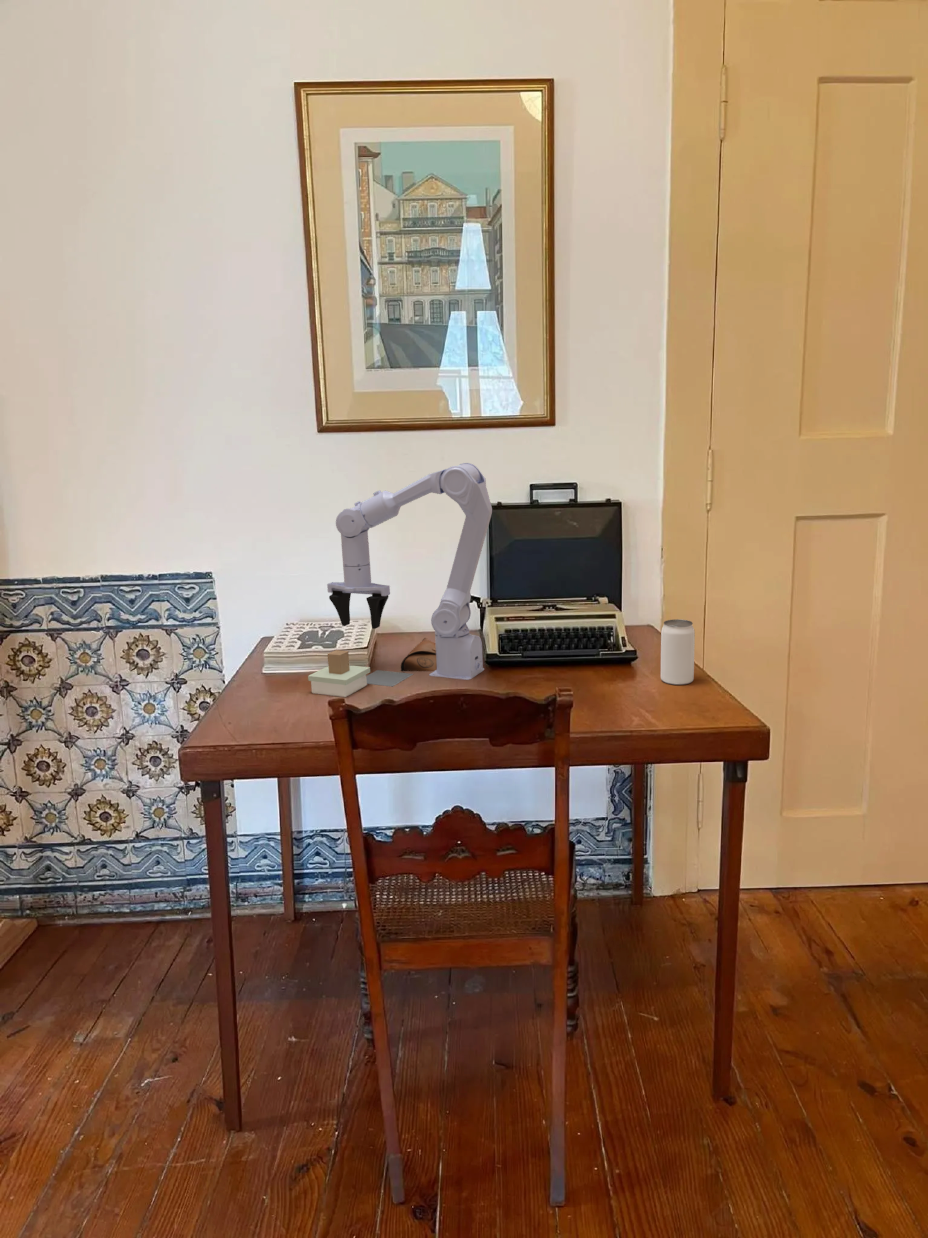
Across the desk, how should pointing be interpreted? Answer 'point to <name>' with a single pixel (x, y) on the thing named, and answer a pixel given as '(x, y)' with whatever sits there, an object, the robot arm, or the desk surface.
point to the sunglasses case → (421, 657)
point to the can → (677, 652)
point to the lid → (339, 670)
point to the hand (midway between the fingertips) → (360, 626)
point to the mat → (386, 678)
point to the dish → (338, 687)
